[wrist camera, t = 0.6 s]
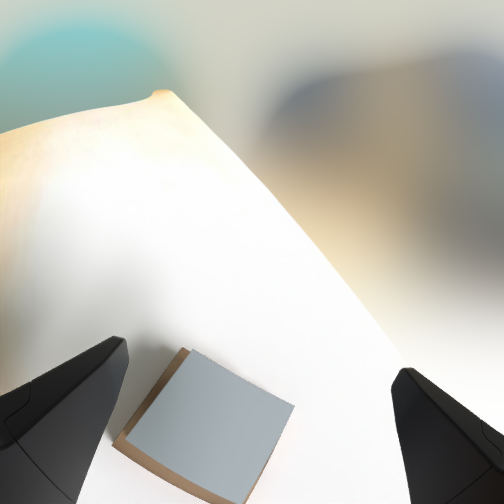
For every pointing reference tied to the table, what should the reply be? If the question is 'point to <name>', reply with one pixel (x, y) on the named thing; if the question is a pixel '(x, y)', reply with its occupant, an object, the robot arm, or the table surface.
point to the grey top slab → (212, 427)
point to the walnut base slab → (151, 464)
